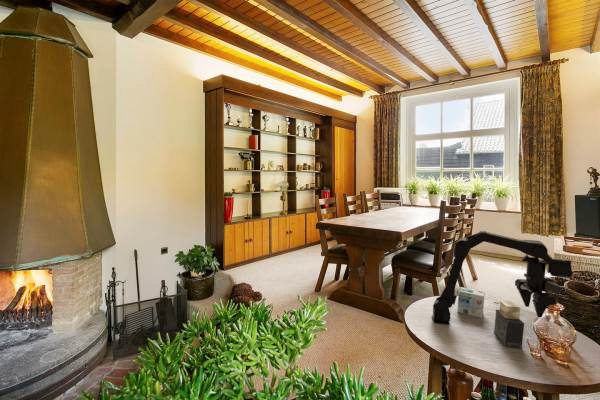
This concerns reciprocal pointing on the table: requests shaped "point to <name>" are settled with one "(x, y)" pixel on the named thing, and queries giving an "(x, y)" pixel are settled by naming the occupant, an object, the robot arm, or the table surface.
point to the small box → (509, 330)
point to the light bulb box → (471, 302)
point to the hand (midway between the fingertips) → (532, 311)
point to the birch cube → (509, 309)
